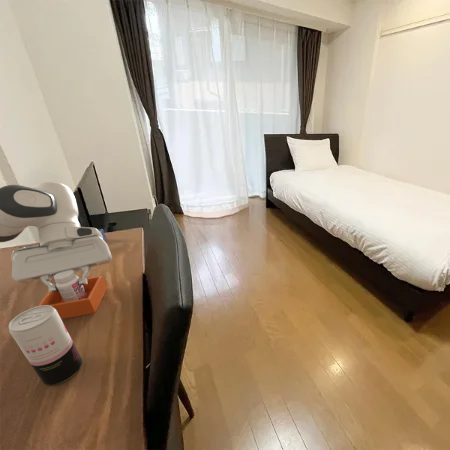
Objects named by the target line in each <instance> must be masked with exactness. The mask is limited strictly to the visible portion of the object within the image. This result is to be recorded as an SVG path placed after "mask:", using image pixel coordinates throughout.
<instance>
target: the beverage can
mask: <svg viewBox="0 0 450 450" xmlns="http://www.w3.org/2000/svg"><path fill="white" fill-rule="evenodd" d="M8 333H9V334H10V335H11V337H12V338H13V340H14V342H15V343H16V345H17V346H18V347H19V349H20V350H21V352H22V353H23V355H24V357H25V358H26V359H27V361H28V362H29V364H30V366H31V367H32V368H33V370H34V371H35V373H36V374H37V376H38V378H39V379H40V381H41V382H42V383H43V384H44V385H45V386H55V385H60V384H62V383H64V382H67V381H68V380H70V379H71V378H73V377H74V376H75V375H76V374H77V373H78V371H80V369H81V367H82V365H83V358H82V356H81V354H80V352H79V350H78V349H77V347H76V344H75V343H74V341H73V338H72V337H71V335H70V333H69V332H68V330H67V327H66V326H65V324H64V322H63V319H61V318H60V316H59V314H58V312H57V311H56V309H54V308H53V307H52V306H49V305H43V306H38V305H37V306H35V307H31V308H28V309H27V310H24V311H22V312H20V313H19V314H17V315H16V316H15V317H14V318H12V319H11V320H10V321H9V323H8Z"/></svg>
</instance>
